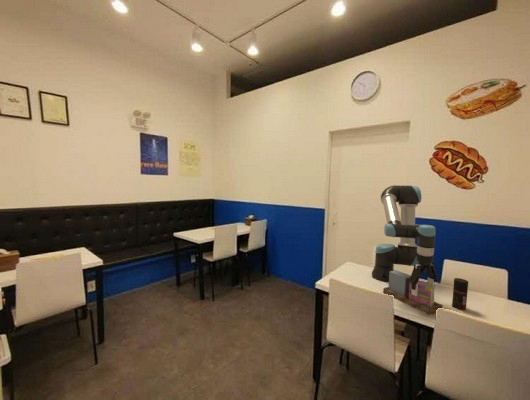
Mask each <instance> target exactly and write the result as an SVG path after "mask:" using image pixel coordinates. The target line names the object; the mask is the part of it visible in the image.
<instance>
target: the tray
mask: <svg viewBox="0 0 530 400" xmlns="http://www.w3.org/2000/svg"><path fill="white" fill-rule="evenodd" d="M388 288H389V286H388V287H384V288H382V289H383V291H382V292H383V294H385V293H386V294H385V295H387V294H389V295H393V296H394V298H393V299H395V300H397V301H399V302H402V303H404V304H405V305H407V306H410V307H412V308H414V309H416V310H418V311H420V312H423V313H425V315H428V316H431V315H434V314H436V310H437V309H438V308H443V306H444V305H443V304H440V303H439V302H437V301H434V306H433V307H432V308H427V307H425V306H423V305H421V304H419V303H416V302H414V301H412V300H410V299H409V295H407V296H401V295H399V294H397V293H395V292H392V291H390V290H388ZM389 295H388V296H389Z"/></svg>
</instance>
